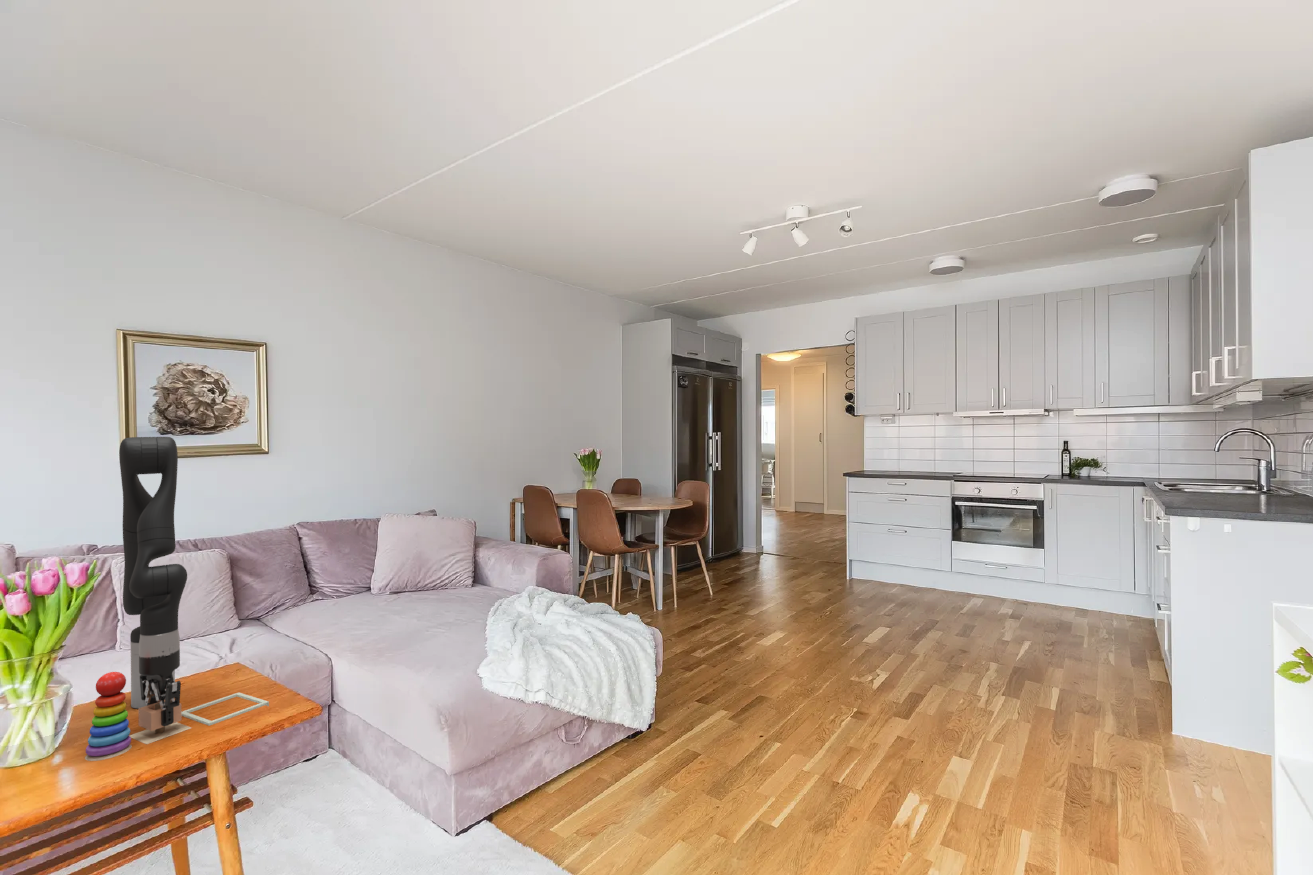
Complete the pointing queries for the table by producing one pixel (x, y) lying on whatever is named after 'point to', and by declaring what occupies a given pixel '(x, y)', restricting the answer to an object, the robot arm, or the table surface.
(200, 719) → the tray
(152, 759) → the table surface
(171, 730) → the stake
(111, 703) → the stacking toy
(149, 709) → the collar
